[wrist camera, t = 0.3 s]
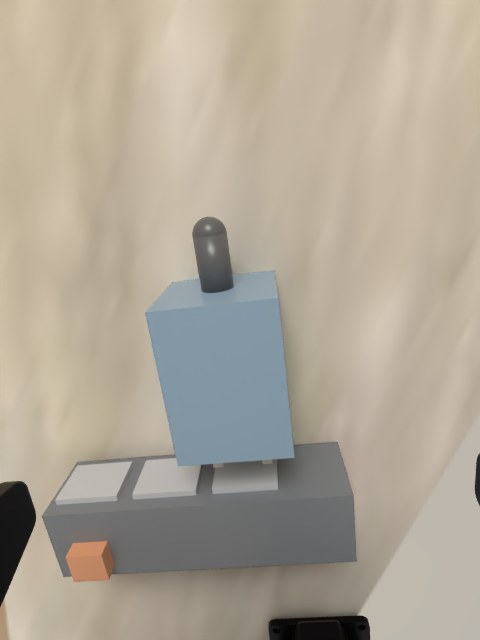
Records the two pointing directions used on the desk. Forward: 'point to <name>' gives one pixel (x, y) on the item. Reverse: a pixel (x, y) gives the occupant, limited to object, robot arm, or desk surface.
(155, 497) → the power strip
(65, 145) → the desk surface
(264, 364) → the slate plug
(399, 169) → the desk surface
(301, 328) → the desk surface
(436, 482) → the desk surface
